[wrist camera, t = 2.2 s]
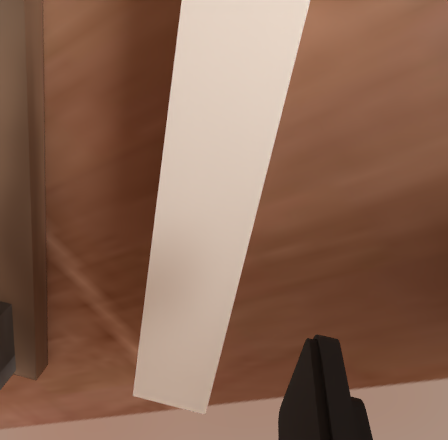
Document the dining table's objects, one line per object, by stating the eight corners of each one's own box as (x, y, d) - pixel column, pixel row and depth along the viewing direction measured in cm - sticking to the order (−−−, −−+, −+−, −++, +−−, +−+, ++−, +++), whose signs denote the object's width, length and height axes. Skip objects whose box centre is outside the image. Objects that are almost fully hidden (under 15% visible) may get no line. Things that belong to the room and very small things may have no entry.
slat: (225, -75, 17) (196, -121, 12) (319, -57, 17) (334, -94, 11) (163, 322, 27) (132, 395, 22) (222, 336, 27) (205, 414, 21)
